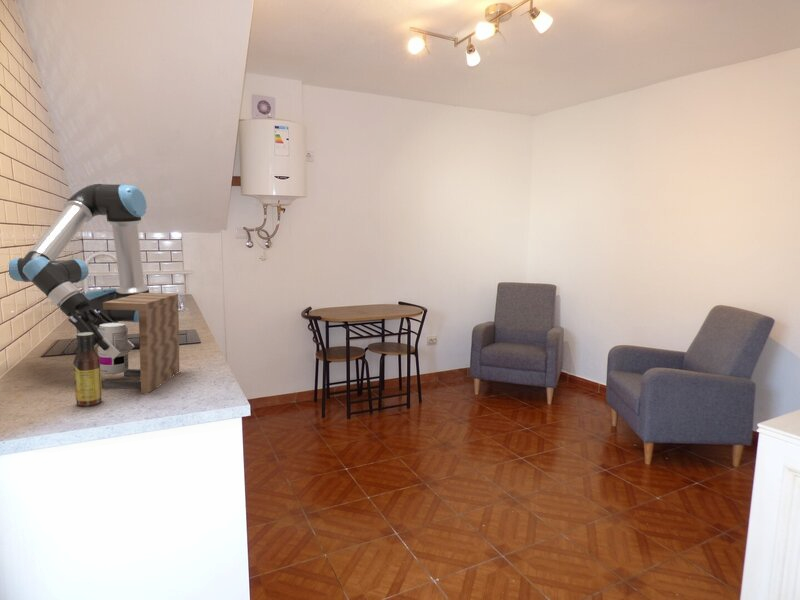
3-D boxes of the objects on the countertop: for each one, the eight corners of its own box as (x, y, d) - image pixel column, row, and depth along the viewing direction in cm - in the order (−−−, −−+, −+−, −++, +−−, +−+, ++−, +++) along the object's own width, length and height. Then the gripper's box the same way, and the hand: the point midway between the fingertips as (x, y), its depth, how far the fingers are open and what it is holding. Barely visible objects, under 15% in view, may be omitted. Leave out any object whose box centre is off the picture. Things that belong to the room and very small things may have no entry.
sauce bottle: (83, 399, 141) (80, 330, 139) (106, 399, 142) (104, 331, 139) (70, 407, 135) (66, 335, 132) (94, 407, 135) (91, 335, 133)
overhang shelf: (133, 370, 171) (130, 292, 167) (179, 371, 172) (178, 293, 168) (94, 392, 147) (90, 302, 143) (148, 394, 148) (145, 303, 144)
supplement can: (97, 375, 152) (96, 327, 150) (99, 368, 160) (98, 322, 158) (128, 373, 156) (127, 326, 154) (128, 367, 163) (127, 321, 161)
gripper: (81, 303, 165) (132, 352, 168) (38, 313, 144) (97, 369, 147) (97, 288, 164) (148, 337, 167) (56, 295, 144) (115, 352, 146)
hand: (124, 352), depth 157 cm, fingers closed on supplement can, 8 cm apart
